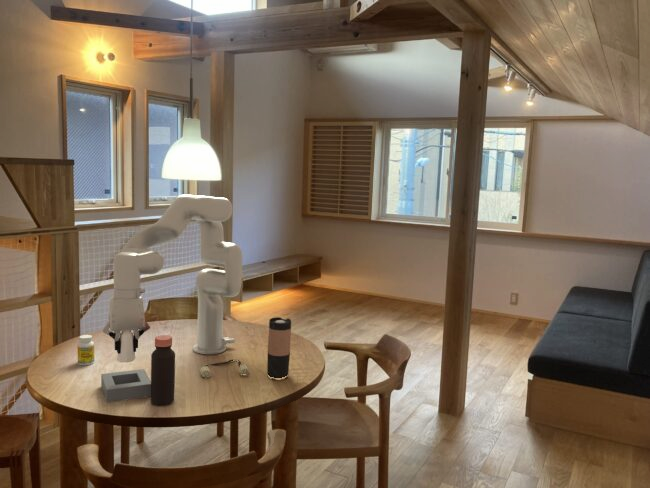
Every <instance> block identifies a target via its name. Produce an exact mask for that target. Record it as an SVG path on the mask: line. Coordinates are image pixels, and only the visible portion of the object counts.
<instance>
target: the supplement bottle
mask: <svg viewBox="0 0 650 488" xmlns="http://www.w3.org/2000/svg"><path fill="white" fill-rule="evenodd" d="M78 340H79V342H78V343H77V364H78V365H80V366H90V365H92V364H94V363H95V342H94V341H93V336H92V335H91V334H82V335H79V339H78Z"/></svg>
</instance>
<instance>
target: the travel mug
mask: <svg viewBox="0 0 650 488" xmlns="http://www.w3.org/2000/svg"><path fill="white" fill-rule="evenodd" d="M291 332H292V320H291V319H290V318H286V319H284V318H282V317H277V316H276V317H271V318H270V319H269V321H268V339H267V340H268V341H267V361H266V362H267V367H266V368H267V372H266V375H267V374H268V375H269V376H270V377H274V378H282V377H285V376H287V375H288V376H289V371H290V370H289V367H290V356H291V339H292V338H291V337H292V335H291V334H292V333H291Z"/></svg>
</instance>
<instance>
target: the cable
mask: <svg viewBox="0 0 650 488" xmlns="http://www.w3.org/2000/svg"><path fill="white" fill-rule="evenodd" d="M233 360H234V359H229V360H227V361H223V362H215V363H211V364H207V365H203V366H201V368H200V369H199V373H200V375H201V377H202V378H203V377H205V378H210V377H211V376H212V373H211V369H210V368H209V366H208V365H211V366H221V365H226V364H229V362H230V363H232V362H231V361H233ZM237 360H238V361H239V362H238V367H239V365H240V364H241V366H240V367H239V368H238V371H239V374H242V375H243V374H247V375H246V376H249V375H250V370H249V367H248V366H247V364H242V361H240V360H239V359H237ZM207 366H208V367H207ZM208 376H209V377H208ZM243 376H244V375H243Z"/></svg>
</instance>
